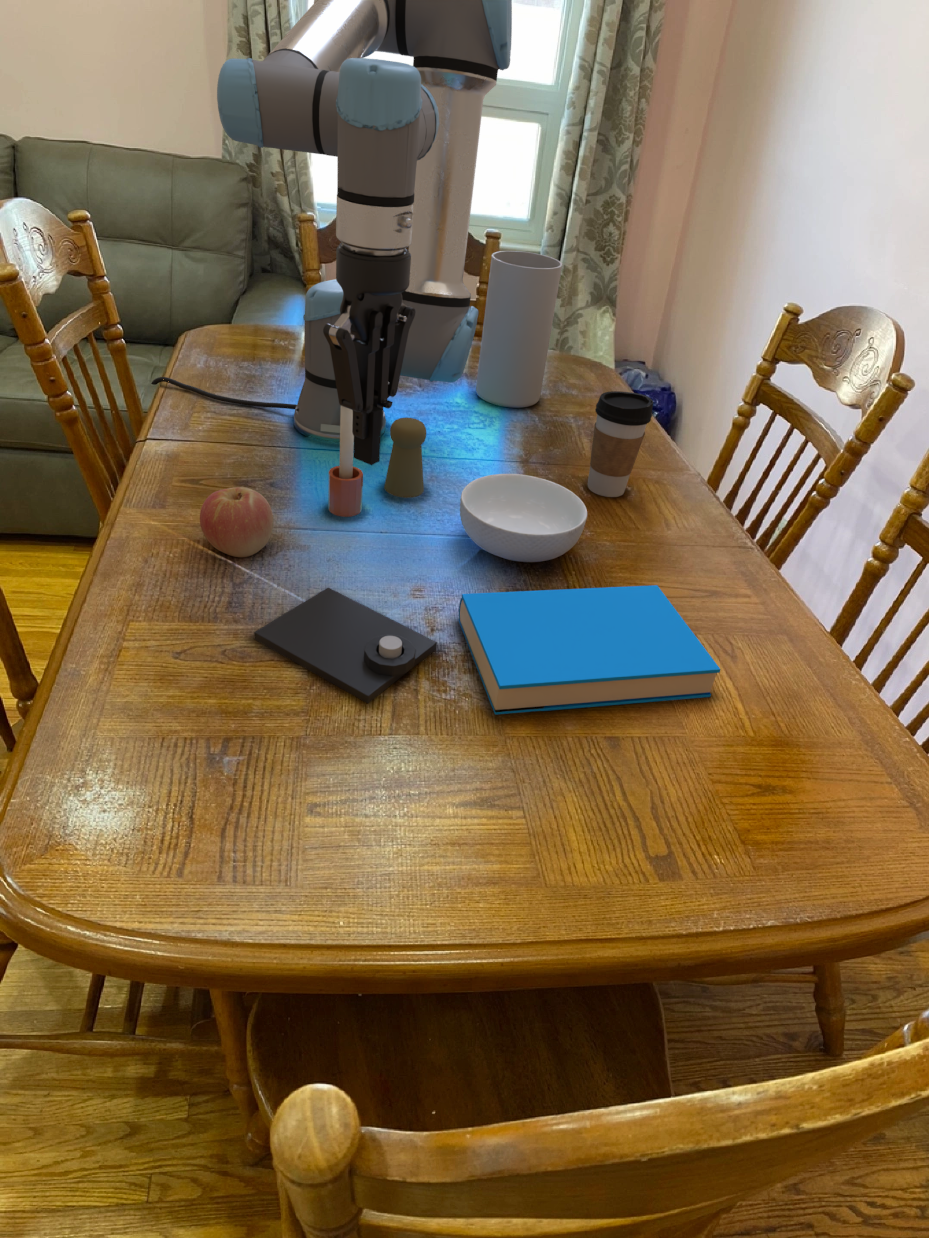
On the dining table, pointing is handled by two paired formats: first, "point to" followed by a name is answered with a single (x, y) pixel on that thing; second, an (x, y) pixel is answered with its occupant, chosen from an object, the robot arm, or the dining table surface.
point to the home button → (390, 647)
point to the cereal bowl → (522, 517)
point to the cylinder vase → (517, 327)
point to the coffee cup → (617, 440)
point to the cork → (406, 458)
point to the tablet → (344, 643)
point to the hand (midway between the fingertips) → (366, 459)
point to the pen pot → (345, 493)
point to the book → (583, 648)
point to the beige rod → (346, 444)
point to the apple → (237, 521)
